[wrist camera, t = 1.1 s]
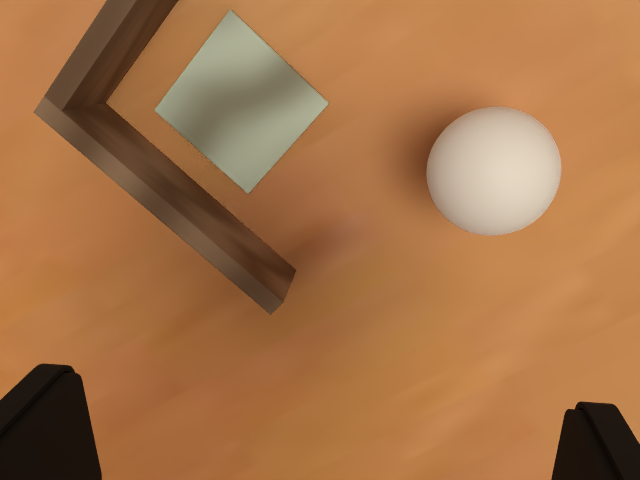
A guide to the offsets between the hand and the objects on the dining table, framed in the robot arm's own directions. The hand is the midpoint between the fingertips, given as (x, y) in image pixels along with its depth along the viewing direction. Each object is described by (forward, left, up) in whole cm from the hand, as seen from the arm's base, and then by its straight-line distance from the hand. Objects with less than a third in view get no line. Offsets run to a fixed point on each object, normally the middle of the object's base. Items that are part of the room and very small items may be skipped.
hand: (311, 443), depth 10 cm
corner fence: (+7, +1, -25) cm, 26 cm away
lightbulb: (-4, -6, -26) cm, 26 cm away
